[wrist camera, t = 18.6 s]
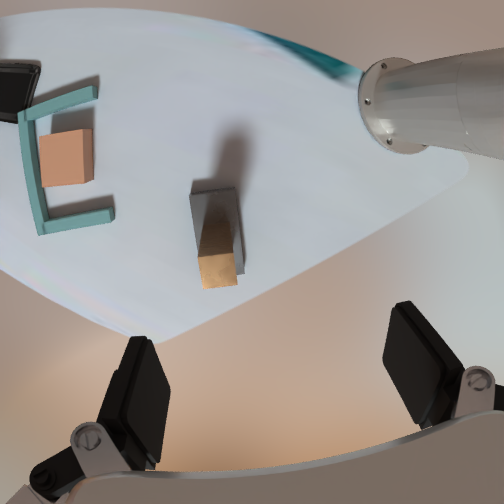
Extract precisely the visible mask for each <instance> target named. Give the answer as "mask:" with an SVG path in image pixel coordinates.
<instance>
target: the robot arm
mask: <svg viewBox="0 0 504 504" xmlns="http://www.w3.org/2000/svg"><path fill="white" fill-rule="evenodd" d="M381 66H382V67H381ZM358 97H359V108H360V113H361V116H362V119H363V122H364V124H365V126H366V127H367V129H368V131H369V133H370V134H371V135H372V136H373V138H374V139H375V140H376V141H377V142H378V143H379V144H381V145H382V146H383V147H385V148H387V149H388V150H390V151H393V152H396V153H401V154H415V153H419V152H421V151H423V150H425V149H426V148H427V147H429V146H436V147H442V148H448V149H453V150H458V151H464V152H469V153H474V154H479V155H483V156H487V157H492V158H496V159H501V160H504V48H498V49H492V50H484V51H478V52H473V53H466V54H460V55H454V56H450V57H444V58H439V59H435V60H430V61H426V62H421V63H417V64H414V63H412V62H411V61H409V60H406V59H402V58H387V59H383V60H381V61H378V62H376V63H375V64H373V65H372V66H371V67H370V68H369V69H368V70H367V71H366V73H365V74H364V76H363V78H362V81H361V83H360V87H359V94H358ZM365 101H366V104H365ZM382 358H383V364H384V366H385V368H386V370H387V372H388V373H389V375H390V377H391V379H392V381H393V383H394V385H395V387H396V389H397V390H398V392H399V394H400V396H401V398H402V400H403V401H404V404H405V406H406V407H407V410H408V412H409V413H410V415H411V417H412V419H413V421H414V423H415V424H419V426H420V428H421V430H422V431H419V432H416V433H413V434H410V435H407V436H405V437H402V438H399V439H396V440H393V441H389V442H386V443H383V444H380V445H376V446H373V447H369V448H366V449H362V450H358V451H355V452H351V453H346V454H342V455H338V456H333V457H329V458H324V459H319V460H313V461H309V462H302V463H297V464H290V465H283V466H275V467H267V468H258V469H247V470H233V471H209V472H167V471H166V472H165V471H145V469H149V470H155V466H156V463H159V462H160V459H161V452H162V444H163V438H164V431H165V424H166V418H167V412H168V406H169V400H170V392H171V391H170V386H169V383H168V381H167V378H166V376H165V373H164V371H163V368H162V366H161V363H160V361H159V358H158V356H157V353H156V351H155V348H154V345H153V343H152V340H150V339H147V337H146V336H132V337H131V338H130V339H129V342H128V344H127V347H126V350H125V352H124V355H123V357H122V360H121V363H120V365H119V368H118V370H116V371H114V373H113V376H112V378H111V381H110V384H109V387H108V389H107V392H106V395H105V398H104V400H103V403H102V406H101V409H100V412H99V415H98V418H97V421H96V422H86V423H83V424H81V425H79V426H78V427H76V428H75V430H74V431H73V432H72V434H71V439H70V443H71V446H69V447H68V448H66V449H64V450H63V451H61V452H59V453H58V454H56V455H54V456H52V457H50V458H49V459H47V460H45V461H43V462H41V463H40V464H38V465H37V466H35V467H34V468H33V470H32V471H31V474H30V484H29V485H28V486H27V485H25V484H24V485H23V487H22V488H21V489H20V490H19V491H18V492H17V493H16V494H15V495H14V496H13V497H12V498H11V499H10V500H9V501H8V502H7V503H6V504H504V386H501V385H497V384H495V378H494V376H493V374H492V373H491V372H490V371H489V370H488V369H486V368H484V367H481V366H472V367H469V368H467V369H466V370H465V368H464V367H463V364H462V363H461V362H460V360H459V359H458V358H457V357H456V355H455V354H454V353H453V351H452V350H451V349H450V348H449V346H448V345H447V344H446V343H445V341H444V340H443V339H442V338H441V336H440V335H439V334H438V333H437V331H436V330H435V329H434V328H433V327H432V326H431V324H430V323H429V322H428V321H427V319H425V317H424V316H423V315H422V313H421V312H420V311H419V310H418V309H417V308H416V306H414V304H413V303H412V302H411V301H405V302H400V303H397V304H396V305H395V307H394V308H392V311H391V316H390V322H389V328H388V333H387V338H386V343H385V348H384V353H383V357H382ZM430 426H432V427H430ZM428 427H430V428H428ZM425 428H427V429H425ZM423 429H424V430H423Z"/></svg>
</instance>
